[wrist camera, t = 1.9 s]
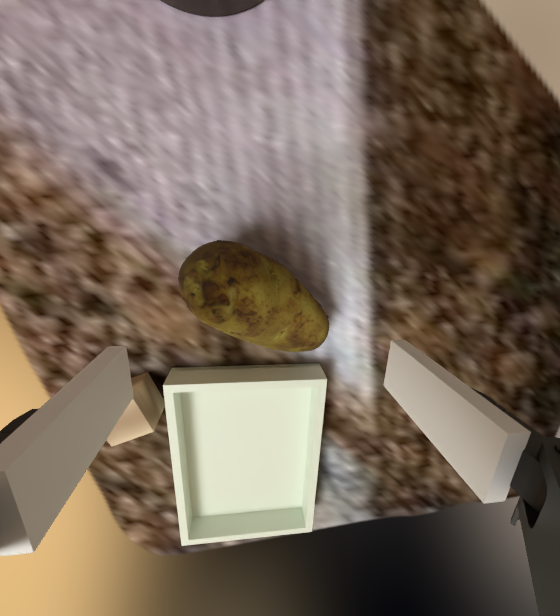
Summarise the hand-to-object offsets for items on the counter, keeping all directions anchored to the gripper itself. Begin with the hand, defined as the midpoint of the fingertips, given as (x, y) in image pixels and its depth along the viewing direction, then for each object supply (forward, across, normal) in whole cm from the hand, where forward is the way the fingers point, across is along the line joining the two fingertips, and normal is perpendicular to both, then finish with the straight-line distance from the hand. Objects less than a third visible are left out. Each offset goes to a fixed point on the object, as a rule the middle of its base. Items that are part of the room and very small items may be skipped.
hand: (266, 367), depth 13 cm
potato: (+13, 0, 0) cm, 13 cm away
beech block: (+13, -12, -10) cm, 20 cm away
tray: (+13, -1, -18) cm, 22 cm away
